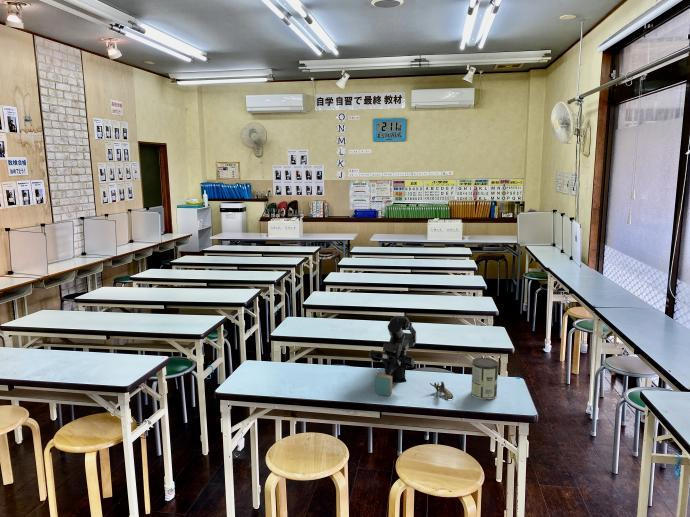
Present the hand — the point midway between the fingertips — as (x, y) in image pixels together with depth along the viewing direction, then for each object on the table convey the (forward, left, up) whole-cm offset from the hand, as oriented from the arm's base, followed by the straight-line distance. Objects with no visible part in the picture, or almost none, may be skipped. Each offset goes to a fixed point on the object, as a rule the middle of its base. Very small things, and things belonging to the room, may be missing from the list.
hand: (386, 377), depth 210 cm
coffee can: (-38, +11, -7) cm, 40 cm away
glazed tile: (+2, +2, -6) cm, 7 cm away
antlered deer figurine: (-21, +8, -7) cm, 24 cm away
